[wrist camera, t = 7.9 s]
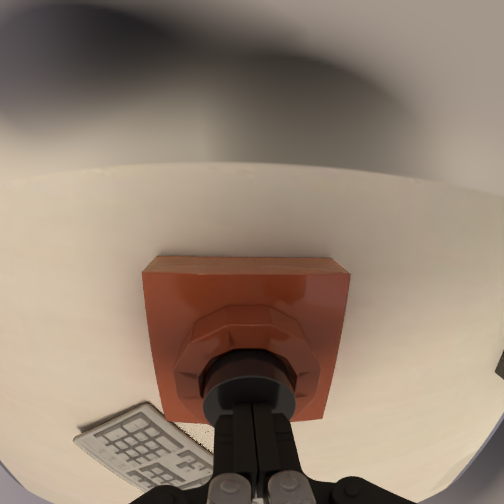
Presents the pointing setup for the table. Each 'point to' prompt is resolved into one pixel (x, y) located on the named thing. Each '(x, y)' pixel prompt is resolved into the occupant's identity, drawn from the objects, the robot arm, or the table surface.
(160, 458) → the keyboard
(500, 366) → the push button box
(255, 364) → the black button cap
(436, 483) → the table surface
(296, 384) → the button base
